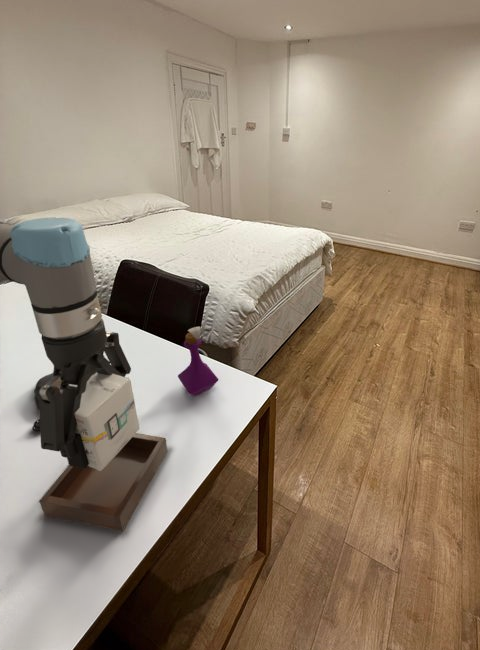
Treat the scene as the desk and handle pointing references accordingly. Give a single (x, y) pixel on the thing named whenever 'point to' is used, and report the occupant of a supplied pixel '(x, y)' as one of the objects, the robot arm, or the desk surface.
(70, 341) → the robot arm
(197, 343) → the perfume bottle
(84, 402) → the ink box
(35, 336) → the desk surface
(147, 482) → the wooden tray
